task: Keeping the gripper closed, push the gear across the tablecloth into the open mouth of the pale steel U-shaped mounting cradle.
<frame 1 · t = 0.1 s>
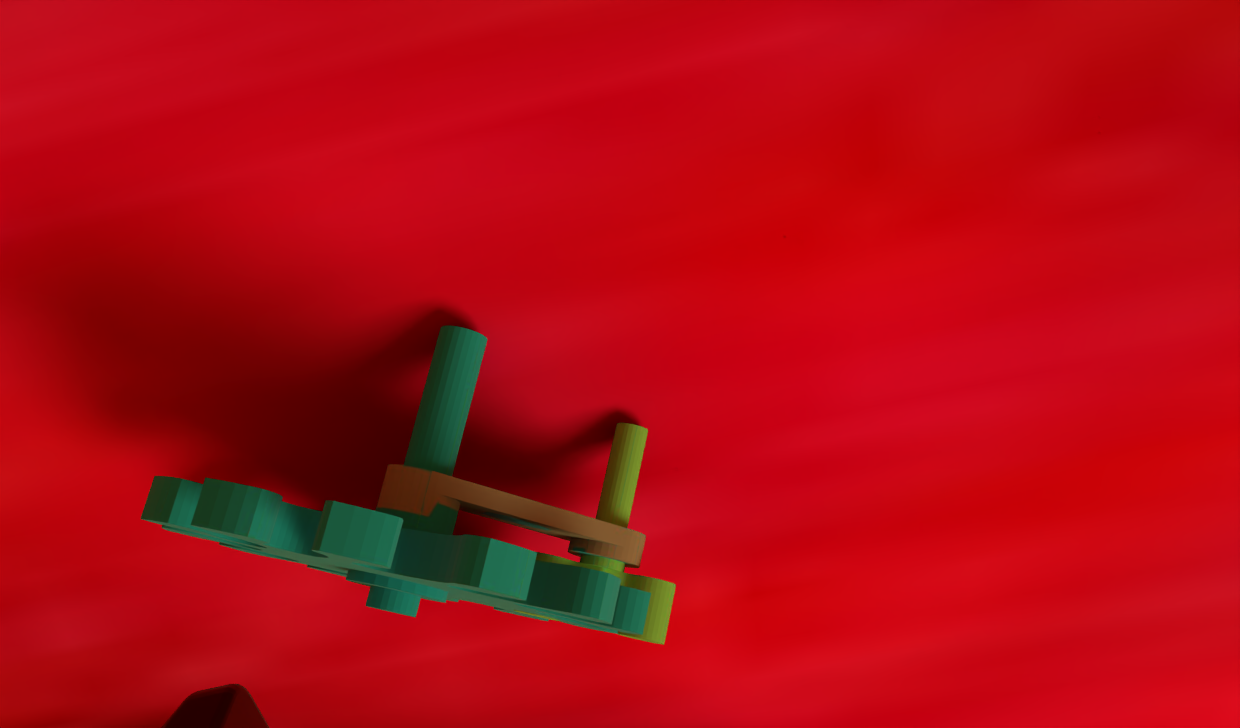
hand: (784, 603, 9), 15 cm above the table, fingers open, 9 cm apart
gear: (439, 448, 27), on the table
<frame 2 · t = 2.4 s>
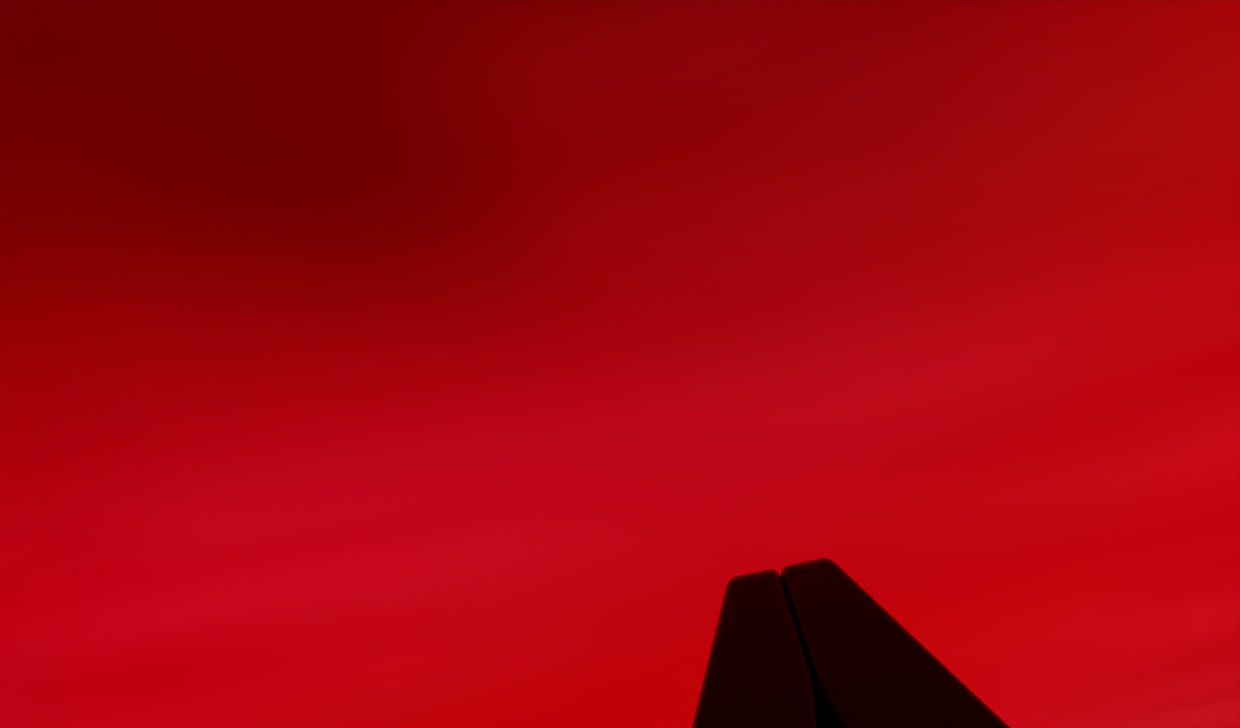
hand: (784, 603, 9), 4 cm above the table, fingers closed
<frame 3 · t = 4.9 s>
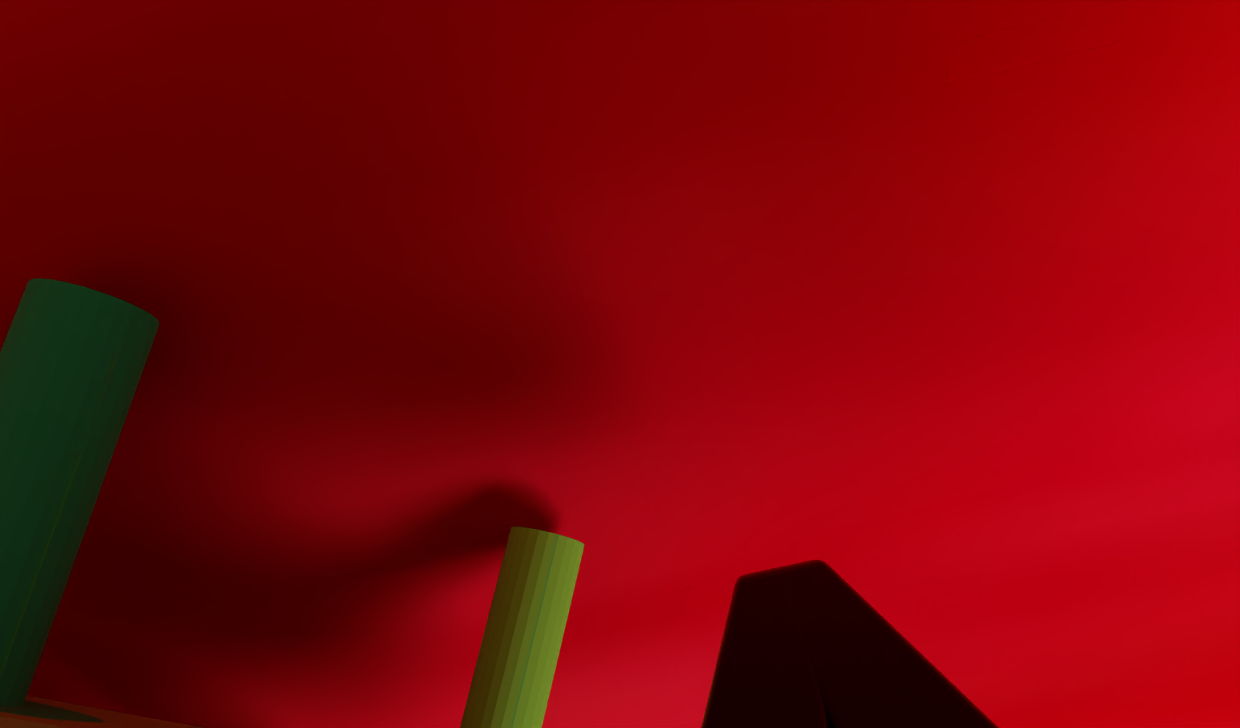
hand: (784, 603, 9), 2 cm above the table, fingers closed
gear: (101, 575, 11), on the table, touching gripper
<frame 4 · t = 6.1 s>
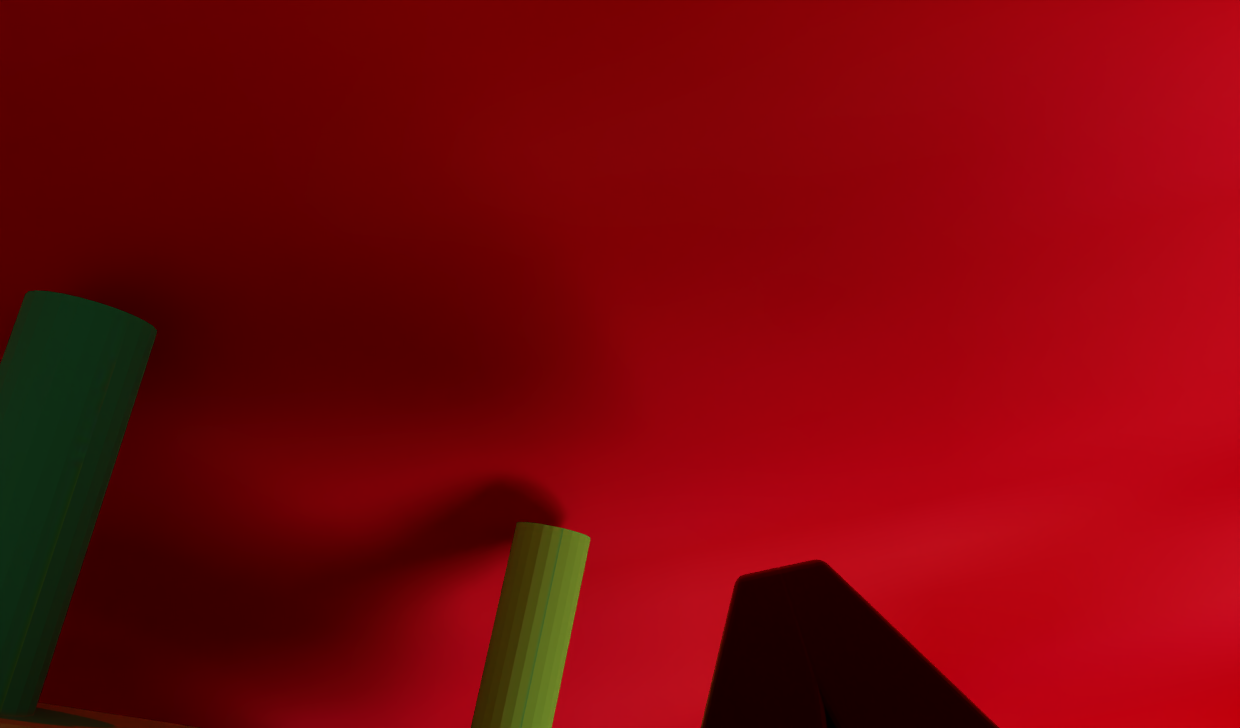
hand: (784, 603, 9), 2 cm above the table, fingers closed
gear: (114, 582, 12), on the table, touching gripper
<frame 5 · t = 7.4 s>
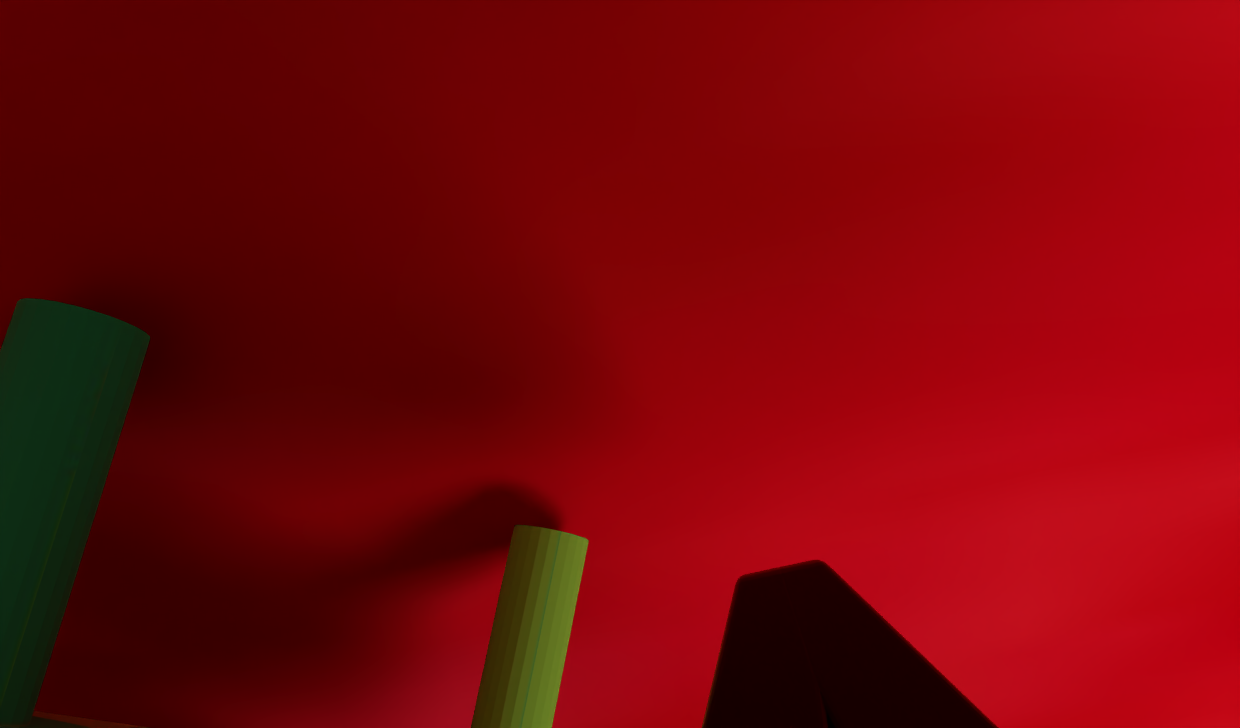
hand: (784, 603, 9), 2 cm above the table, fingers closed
gear: (112, 589, 12), on the table, touching gripper
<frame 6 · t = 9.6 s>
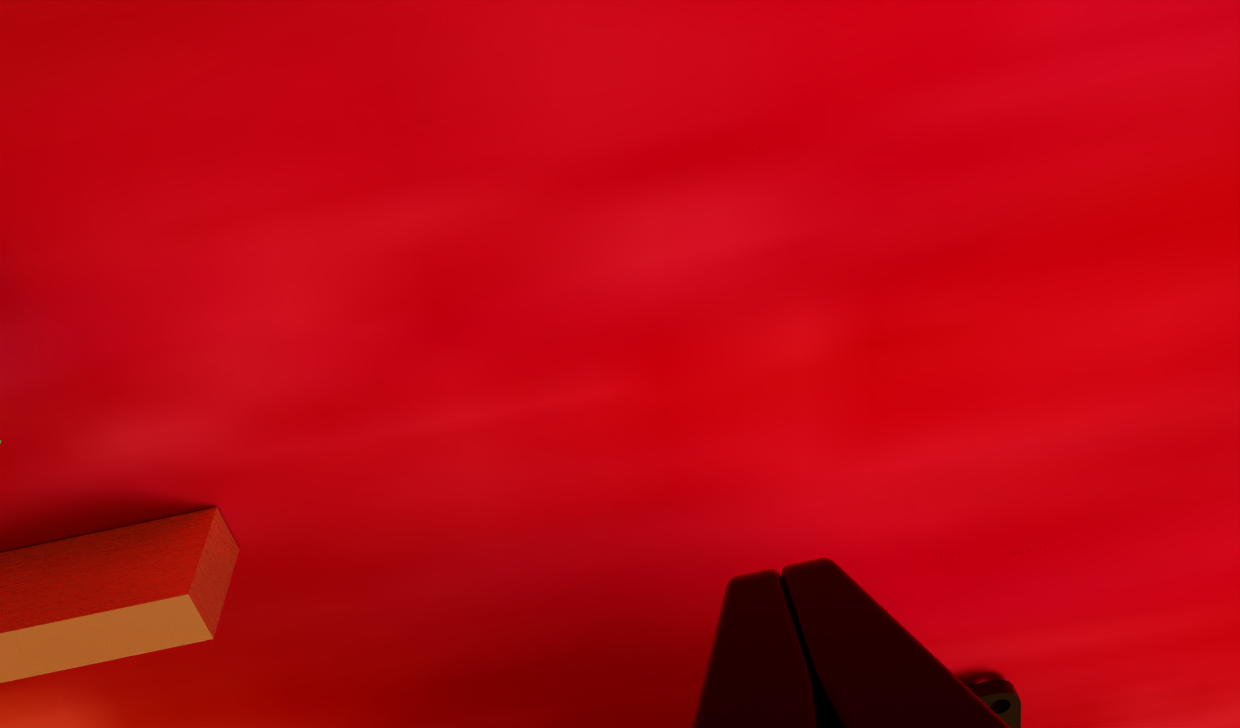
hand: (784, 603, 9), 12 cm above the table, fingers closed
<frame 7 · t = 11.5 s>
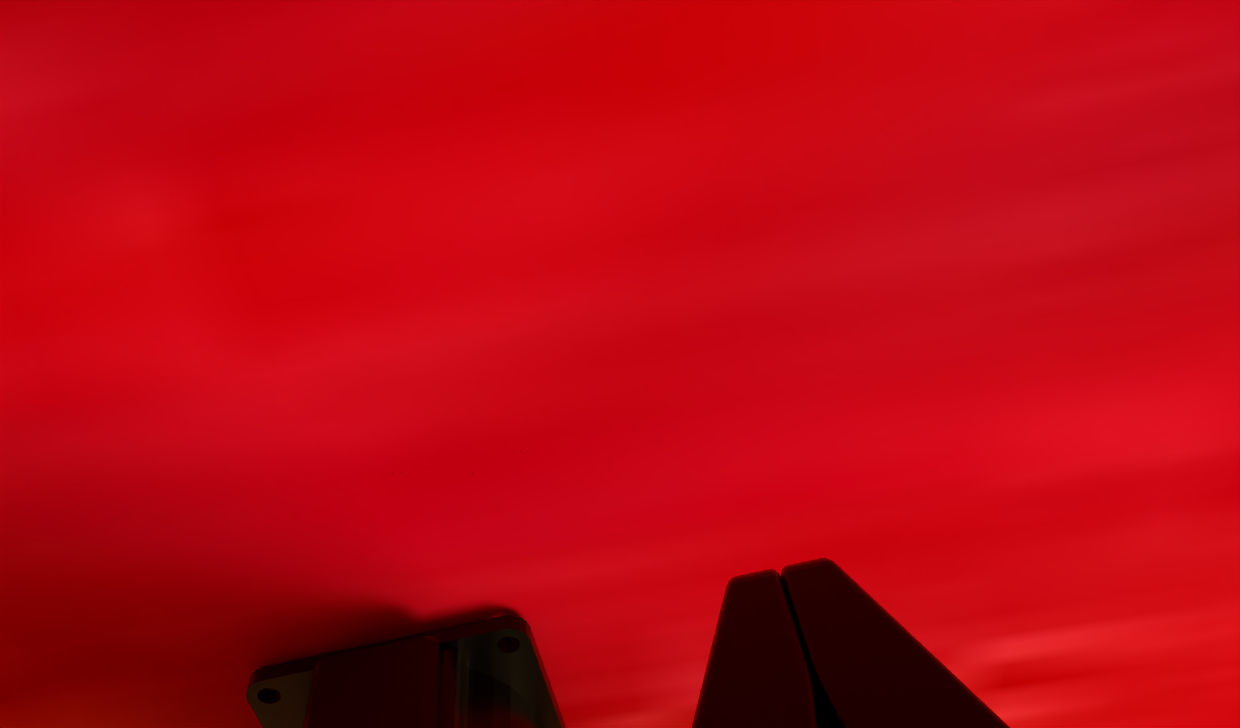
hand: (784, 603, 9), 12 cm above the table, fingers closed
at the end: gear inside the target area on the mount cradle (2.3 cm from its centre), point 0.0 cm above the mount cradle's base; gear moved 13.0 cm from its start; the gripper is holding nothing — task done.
